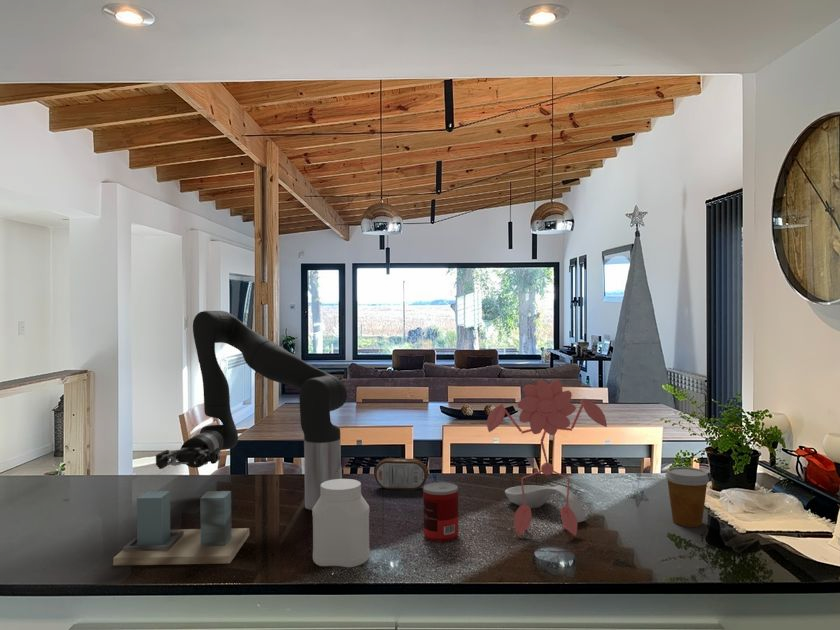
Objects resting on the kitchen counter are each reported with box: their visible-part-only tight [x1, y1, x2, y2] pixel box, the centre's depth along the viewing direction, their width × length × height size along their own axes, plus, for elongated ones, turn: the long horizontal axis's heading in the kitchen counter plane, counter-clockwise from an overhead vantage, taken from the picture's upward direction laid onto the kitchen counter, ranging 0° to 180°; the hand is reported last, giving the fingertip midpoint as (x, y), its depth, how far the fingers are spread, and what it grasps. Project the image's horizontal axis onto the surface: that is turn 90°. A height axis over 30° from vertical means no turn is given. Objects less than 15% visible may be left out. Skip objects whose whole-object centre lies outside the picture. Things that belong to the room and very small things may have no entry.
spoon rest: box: [504, 484, 586, 524], centre depth 158 cm, size 24×12×7 cm, turn 33°
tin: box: [374, 457, 429, 491], centre depth 178 cm, size 15×3×8 cm, turn 84°
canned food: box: [422, 481, 459, 543], centre depth 140 cm, size 8×8×11 cm
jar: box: [311, 478, 371, 568], centre depth 129 cm, size 12×10×15 cm
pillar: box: [136, 490, 171, 546], centre depth 134 cm, size 5×5×10 cm
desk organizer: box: [112, 490, 250, 566], centre depth 134 cm, size 23×16×12 cm
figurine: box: [486, 378, 608, 554], centre depth 138 cm, size 15×26×35 cm, turn 85°
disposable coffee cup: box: [664, 466, 710, 528], centre depth 148 cm, size 10×10×12 cm
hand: (178, 463), depth 148 cm, fingers open, 8 cm apart
